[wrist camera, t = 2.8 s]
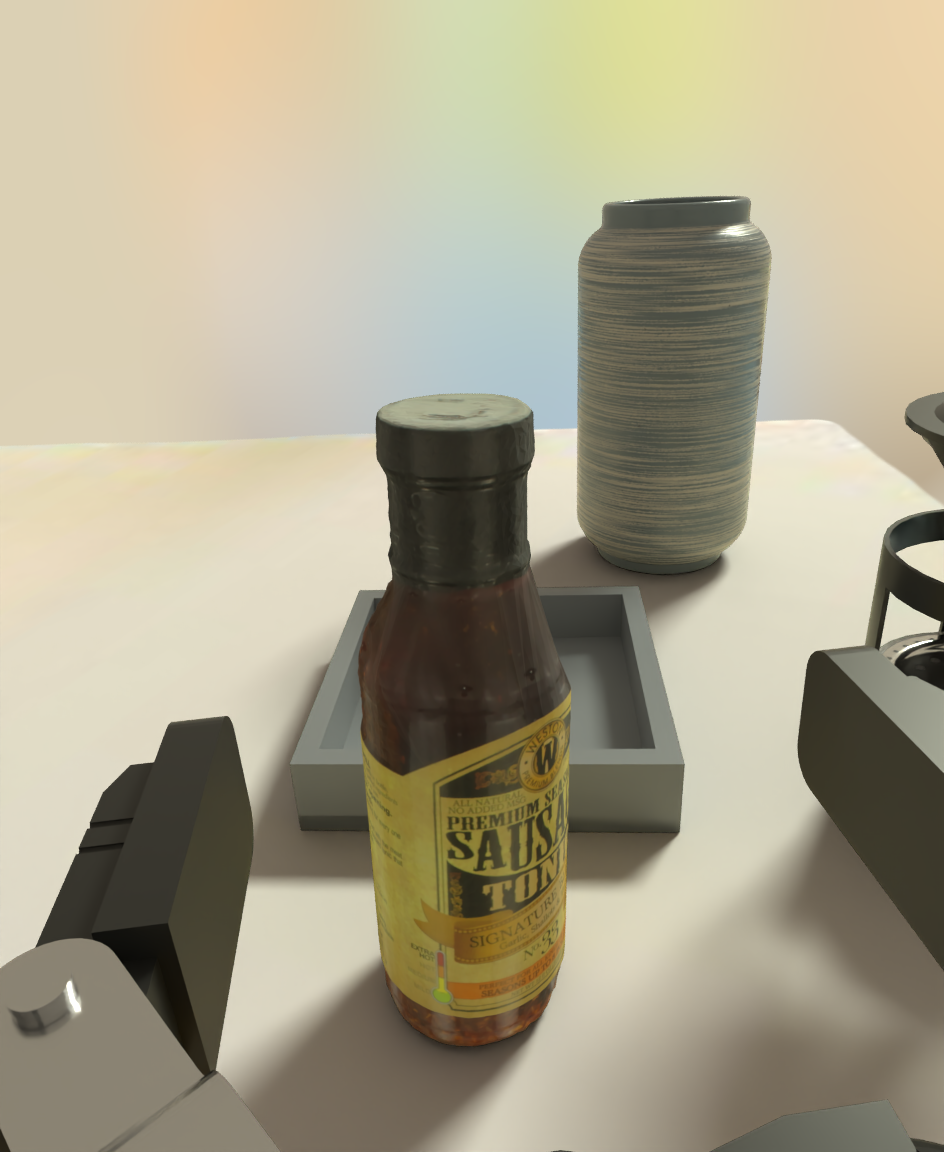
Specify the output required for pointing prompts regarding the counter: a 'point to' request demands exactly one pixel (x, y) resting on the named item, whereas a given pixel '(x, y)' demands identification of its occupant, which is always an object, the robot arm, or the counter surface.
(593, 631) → the tray
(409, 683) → the sauce bottle
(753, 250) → the vase
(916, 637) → the french press
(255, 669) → the counter surface
